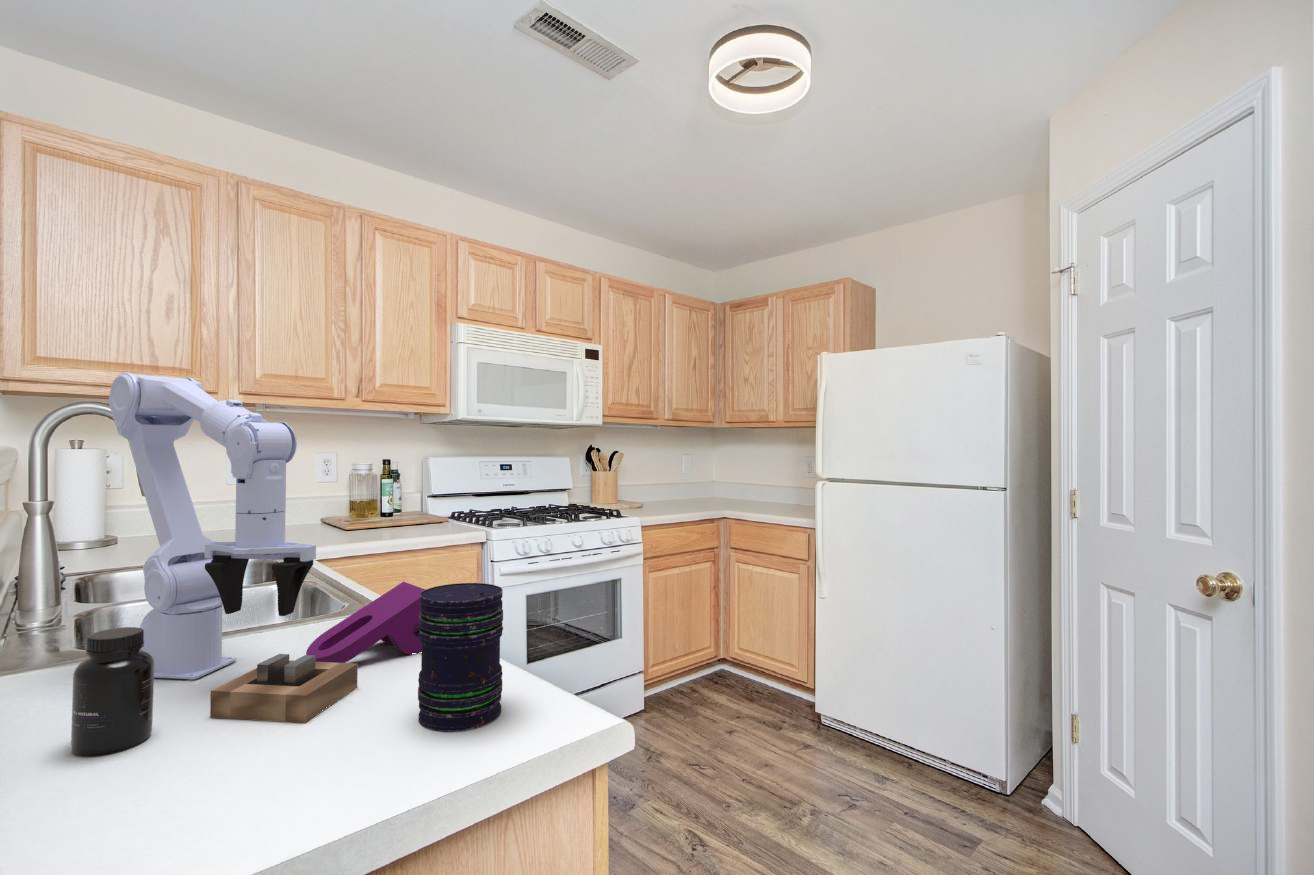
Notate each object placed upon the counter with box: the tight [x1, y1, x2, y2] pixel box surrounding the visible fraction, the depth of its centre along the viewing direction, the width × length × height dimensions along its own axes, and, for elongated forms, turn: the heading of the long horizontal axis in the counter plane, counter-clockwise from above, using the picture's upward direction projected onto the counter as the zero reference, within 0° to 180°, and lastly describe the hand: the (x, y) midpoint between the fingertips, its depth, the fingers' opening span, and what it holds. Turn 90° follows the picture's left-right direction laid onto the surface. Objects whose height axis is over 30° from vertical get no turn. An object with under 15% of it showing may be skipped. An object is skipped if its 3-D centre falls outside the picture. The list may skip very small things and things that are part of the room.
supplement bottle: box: [70, 626, 155, 757], centre depth 71 cm, size 7×7×12 cm
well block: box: [209, 660, 359, 724], centre depth 82 cm, size 12×11×3 cm
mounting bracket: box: [305, 581, 426, 663], centre depth 101 cm, size 9×8×18 cm
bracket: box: [256, 653, 316, 687], centre depth 82 cm, size 5×4×6 cm
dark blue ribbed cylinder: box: [417, 582, 504, 733], centre depth 79 cm, size 10×10×15 cm
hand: (259, 613), depth 87 cm, fingers open, 7 cm apart
